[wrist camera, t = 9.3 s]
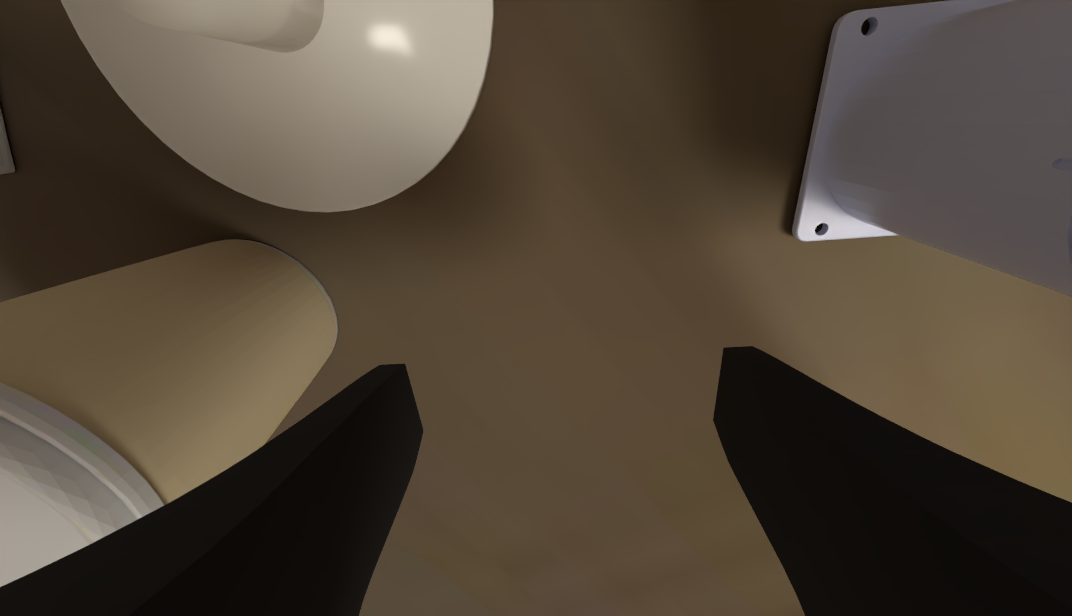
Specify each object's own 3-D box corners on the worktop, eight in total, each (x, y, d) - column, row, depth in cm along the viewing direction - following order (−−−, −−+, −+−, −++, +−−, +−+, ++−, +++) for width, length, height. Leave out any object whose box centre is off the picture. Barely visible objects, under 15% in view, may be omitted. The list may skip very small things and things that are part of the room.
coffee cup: (124, 278, 19) (-404, 484, 9) (256, 181, 17) (-241, 298, 6) (266, 410, 23) (12, 674, 12) (392, 344, 21) (217, 599, 10)
